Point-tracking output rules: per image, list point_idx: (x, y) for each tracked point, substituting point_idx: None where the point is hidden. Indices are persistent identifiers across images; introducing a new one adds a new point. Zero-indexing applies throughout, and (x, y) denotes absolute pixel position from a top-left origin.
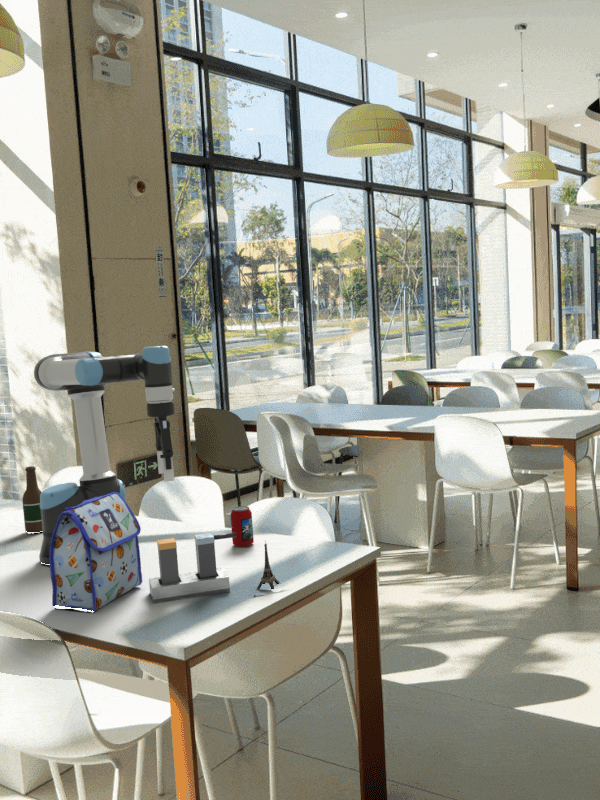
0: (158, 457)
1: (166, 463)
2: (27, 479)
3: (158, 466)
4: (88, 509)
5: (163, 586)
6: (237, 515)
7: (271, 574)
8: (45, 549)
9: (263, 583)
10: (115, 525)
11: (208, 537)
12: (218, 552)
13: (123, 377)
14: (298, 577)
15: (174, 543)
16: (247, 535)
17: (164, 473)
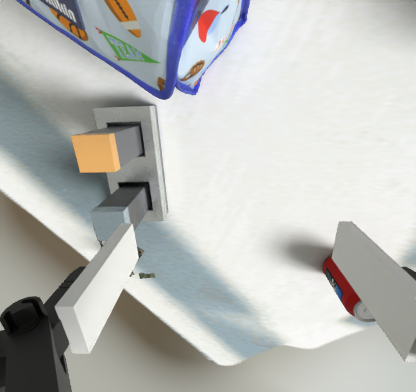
0: (391, 280)
1: (55, 293)
2: None
3: (357, 242)
4: None
5: (97, 127)
6: (350, 295)
7: None
8: None
9: (138, 251)
10: (62, 9)
11: (95, 231)
12: (321, 228)
13: None
14: (152, 286)
15: (80, 168)
16: (328, 279)
17: (105, 246)
